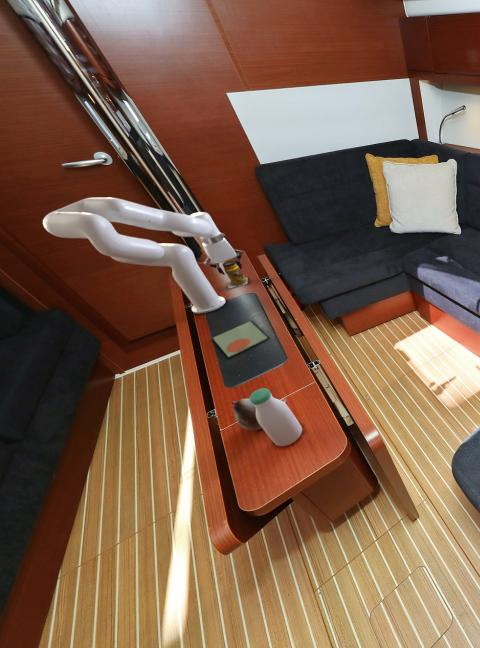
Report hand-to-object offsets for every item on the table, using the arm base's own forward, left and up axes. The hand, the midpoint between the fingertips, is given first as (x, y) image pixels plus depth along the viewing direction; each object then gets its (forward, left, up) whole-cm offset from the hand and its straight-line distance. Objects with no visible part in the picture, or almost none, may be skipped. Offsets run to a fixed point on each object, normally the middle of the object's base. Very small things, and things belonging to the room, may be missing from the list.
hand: (231, 270), depth 165 cm
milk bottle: (+112, -24, -8) cm, 115 cm away
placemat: (+50, -16, -7) cm, 53 cm away
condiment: (0, 0, -8) cm, 8 cm away
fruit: (+100, -27, -8) cm, 104 cm away
